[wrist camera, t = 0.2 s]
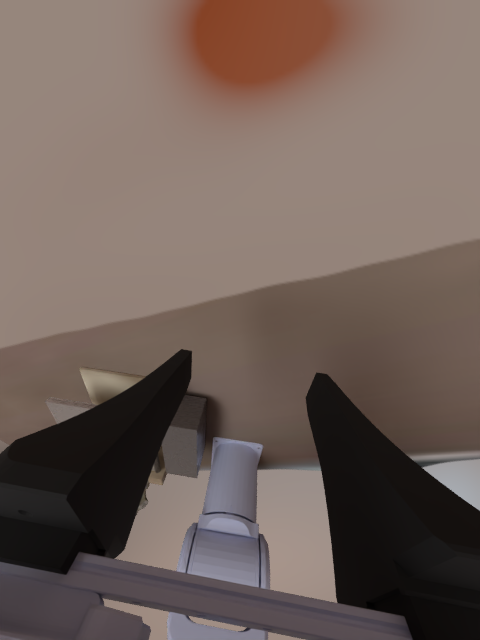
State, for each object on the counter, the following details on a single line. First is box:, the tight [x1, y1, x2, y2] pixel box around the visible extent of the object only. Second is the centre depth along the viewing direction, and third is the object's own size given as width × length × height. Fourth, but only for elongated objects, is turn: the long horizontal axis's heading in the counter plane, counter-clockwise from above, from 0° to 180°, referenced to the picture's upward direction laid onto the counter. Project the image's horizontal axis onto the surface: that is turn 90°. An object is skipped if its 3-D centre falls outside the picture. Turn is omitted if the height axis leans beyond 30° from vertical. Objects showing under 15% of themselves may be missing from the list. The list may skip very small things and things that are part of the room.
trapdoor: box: [45, 395, 207, 478], centre depth 27 cm, size 12×18×4 cm
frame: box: [79, 367, 167, 485], centre depth 27 cm, size 16×12×6 cm
